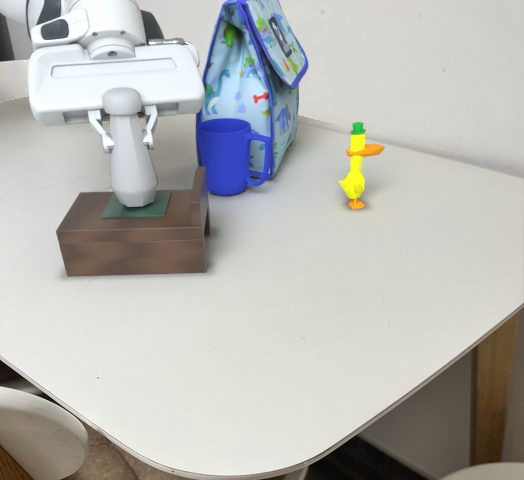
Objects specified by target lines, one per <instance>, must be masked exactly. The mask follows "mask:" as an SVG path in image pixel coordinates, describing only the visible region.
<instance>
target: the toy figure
mask: <svg viewBox="0 0 524 480" xmlns="http://www.w3.org/2000/svg"><path fill="white" fill-rule="evenodd" d="M351 125H352V130H350V131H349V132H350V143H349V148H347V149H346V150H345V153H346V156H347V157H349V166H350V170H349V171H348V173H347V174H346V175H345V176H344V179H343V180H340V179H339V180H337V181H338V183H339V185H340V186H341V188H342V189H343V191H344V193H345V195H346V196H347V198H349V199H350V201H349V203H348V204H347V206H348V207H349V208H350V210H351V209H352V210H357V209H363V208H365V203H364V202H362V200H359V198H360V197H361V195H363V193H364V192H365V183H366V178H365V176H364V174H363V173H362V166H363V160H364V158H366V157H374V156H379V155H380V154H381V153H382V152H383V151H384V149H386V147H385V146H384V145H382V144H378V143H366V137H367V136H366V135H367V134H366V132H367V130H366V128H364V122H362V121H355V122H353V123H351Z"/></svg>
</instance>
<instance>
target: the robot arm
mask: <svg viewBox="0 0 524 480" xmlns="http://www.w3.org/2000/svg"><path fill="white" fill-rule="evenodd" d="M0 14H1V15H2V16H4V17H6V18H7V19H10V20H11V21H14V22H17V23H20V24H23V25H26V30H27V35H28V39H29V40H30V43H31V45H32V50H33V52H32V53H31V55H30V56H29V59H28V62H27V93H28V101H29V106H30V110H31V112H32V115H33V118H34V119H35V121H36V122H37V123H38V124H40V125H41V126H43V127H44V128H45V127H55V126H58V127H59V126H67V125H69V126H70V125H80V124H89V125H90V130H91V131H92V132H93V133H94V135H95V136H96V137H97V138H98V139H99V140H100V142H102V145H103V150H104V154H105V155H110V153H112V151H113V149H114V143H113V139H112V136H111V134H110V132H107V131H106V130H105V129H104V126H103V122H110V114H108V113H107V112H105V110H104V107H103V103H102V96H103V95H104V93H105V92H106V91H108V90H110V89H113V88H119V87H128V88H133V89H135V90H137V91H138V92H139V93H140V97H141V102H142V107H141V111H139V112H137V115H138V118H139V119H144V120H145V125H146V126H145V129H142V132H143V136H144V145H145V146H147V149H148V150H149V151H151V150H154V139H153V136H154V133H155V132H156V129H157V126H158V124H159V123H158V121H159V119H158V117H159V118H160V117H169V116H170V117H171V116H180V115H192V114H193V115H194V114H196V113H198V112H199V111H200V110H201V108H202V107H203V105H204V100H205V89H204V85H203V81H202V75H201V72H200V69H199V67H200V63H201V62H200V56H199V51H198V49H197V47H196V45H195V44H193V43H191V42H189V41H187V40H184V38H182V37H172V38H165V36H164V33H163V30H162V28H161V26H160V24H159V22H158V19H156V17H155V15H154V14H153V13H152V12H151V11H149V10H148V11H147V10H144V9H141V8H140V6H139V4H138V2H137V0H0Z"/></svg>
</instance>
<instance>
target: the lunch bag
mask: <svg viewBox="0 0 524 480" xmlns="http://www.w3.org/2000/svg"><path fill="white" fill-rule="evenodd" d="M308 70H309V60H308V57H307V55H306V52H305V50H304V48H303V47H302V45H301V43H300V42H299V40H298V38H297V36H296V34H295V33H294V31H293V29H292V26H291V25H290V23H289V21H288V19H287V17H286V15H285V12H284V10H283V7H282V5H281V3H280V0H226V1H224V2H223V3H222V5H221V7H220V11H219V13H218V15H217V18H216V21H215V24H214V26H213V30H212V34H211V38H210V42H209V47H208V52H207V56H206V61H205V65H204V69H203V73H202V76H201V78H202V81H203V85H204V89H205V100H204V105H203V107H202V108H201V110H200V111H199V112H198V113H195V128H196V127H197V125H198V124H199V123H201V122H204V121H207V120H211V119H219V118H234V119H241V120H245V121H247V122H249V123H250V124H251V133H253V134H259V135H264V136H267V137H270V138H271V139H272V146H271V159H270V167H269V173H268V176H267V179H266V181H267V180H272V179H273V178H274V177H275V175H276V174H277V171H278V169H279V167H280V165H281V163H282V160H283V158H284V156H285V153H286V151H287V149H288V148H289V146H290V144H291V143H292V142H293V141H294V140H295V139H296V136H297V131H298V120H299V119H298V117H299V109H300V108H299V106H300V82H301V81H302V79H303V78H304V76H305V75H306V73H307V71H308ZM195 147H196V160H197V167H202V161H201V155H200V149H199V143H198V136H197V130H196V129H195ZM264 159H265V143H264V142H262V141H258V140H251V143H250V162H249V174H250V177H253V178H258V179H261V177H262V173H263V168H264Z"/></svg>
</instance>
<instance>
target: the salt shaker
mask: <svg viewBox="0 0 524 480" xmlns="http://www.w3.org/2000/svg"><path fill="white" fill-rule="evenodd" d="M102 103H103V107H104V110H105V112H107V113H108V114H110V121H109V133H110V134H111V136H112V139H113V143H114V149H113V151H112V153H110V154H109V186H110V188H111V191H112V192H114V193H115V195H116V196H117V198H118V200H119V201H120V203H122V204H124V205H126V206H128V207H139V206H145V205H147V204H149V203H151V202H153V201H154V197H155V193H156V190H158V185H159V177H158V174H157V171H156V167H155V165H154V162H153V158H152V156H151V153H150V150H148V149H147V146H145V145H144V136H143V132H142V130H143V129H142V128H143V127H142V124H141V122H140V118H138V115H137V112H139V111H141V107H142V102H141V97H140V93H139V92H138V91H137V90H135V89H133V88H128V87H119V88H113V89H110V90H108V91H106V92H105V93H104V95H103V96H102Z"/></svg>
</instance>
